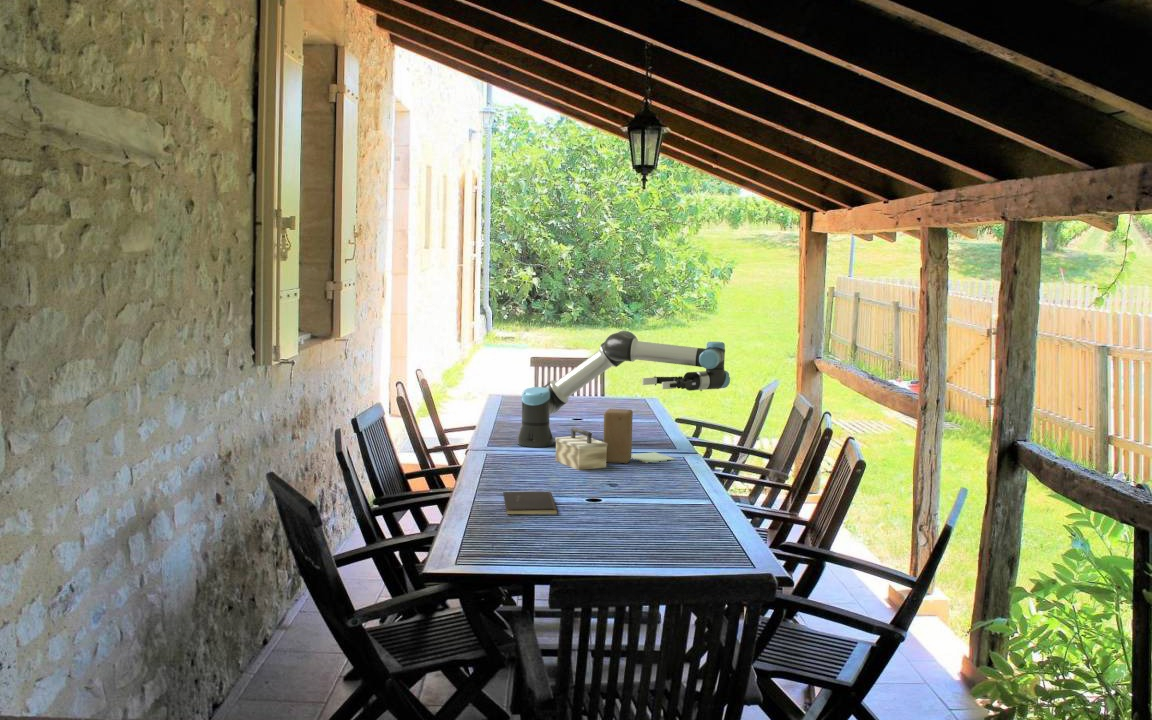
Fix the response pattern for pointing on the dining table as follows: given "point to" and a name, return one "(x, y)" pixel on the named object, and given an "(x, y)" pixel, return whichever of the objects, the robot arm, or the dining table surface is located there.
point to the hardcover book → (529, 503)
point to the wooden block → (618, 435)
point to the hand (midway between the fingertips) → (652, 383)
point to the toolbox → (581, 451)
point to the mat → (651, 457)
